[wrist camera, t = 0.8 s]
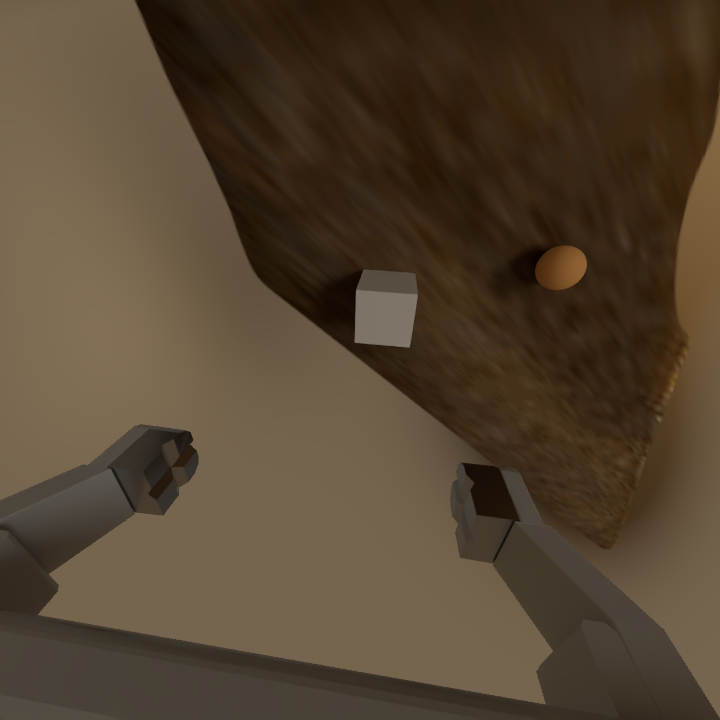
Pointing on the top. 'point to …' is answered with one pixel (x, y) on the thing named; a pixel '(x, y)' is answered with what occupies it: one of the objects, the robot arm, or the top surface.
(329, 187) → the top surface
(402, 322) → the grey matte cube
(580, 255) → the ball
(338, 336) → the top surface
